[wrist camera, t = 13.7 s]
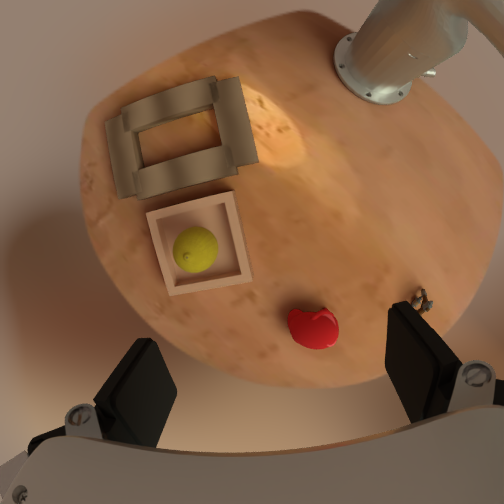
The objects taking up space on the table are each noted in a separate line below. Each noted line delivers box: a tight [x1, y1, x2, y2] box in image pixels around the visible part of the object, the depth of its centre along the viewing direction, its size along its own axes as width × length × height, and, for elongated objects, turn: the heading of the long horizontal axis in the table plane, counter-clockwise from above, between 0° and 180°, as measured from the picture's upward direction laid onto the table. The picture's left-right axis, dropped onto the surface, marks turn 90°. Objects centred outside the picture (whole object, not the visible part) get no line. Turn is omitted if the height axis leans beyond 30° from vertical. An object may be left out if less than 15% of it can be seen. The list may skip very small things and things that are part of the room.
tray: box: [146, 190, 253, 296], centre depth 37 cm, size 12×12×3 cm
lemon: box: [172, 226, 218, 273], centre depth 34 cm, size 6×6×8 cm
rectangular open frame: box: [105, 76, 259, 200], centre depth 34 cm, size 20×14×2 cm
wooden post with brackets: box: [411, 289, 433, 316], centre depth 39 cm, size 2×8×4 cm, turn 154°
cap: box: [288, 308, 339, 349], centre depth 38 cm, size 8×6×6 cm
